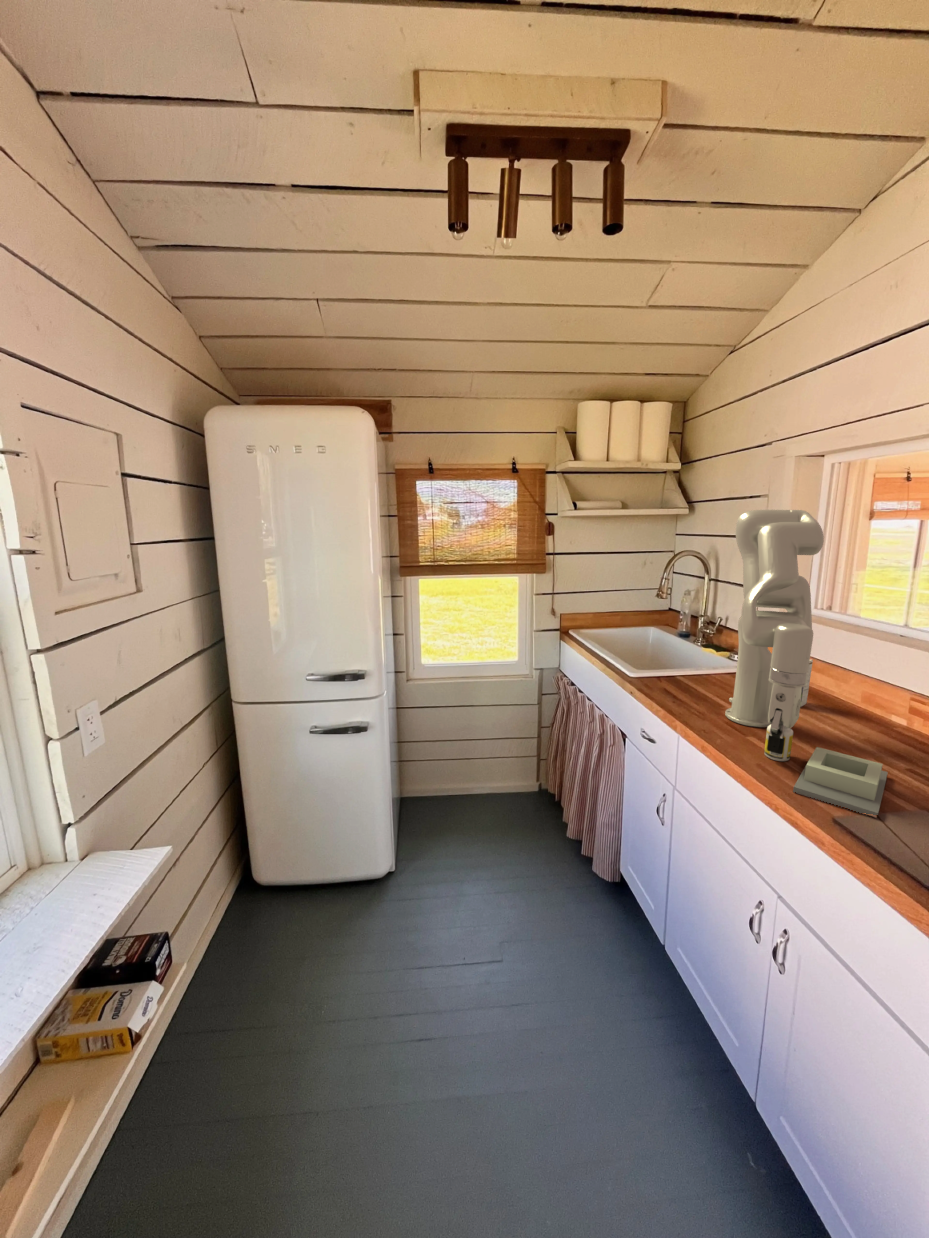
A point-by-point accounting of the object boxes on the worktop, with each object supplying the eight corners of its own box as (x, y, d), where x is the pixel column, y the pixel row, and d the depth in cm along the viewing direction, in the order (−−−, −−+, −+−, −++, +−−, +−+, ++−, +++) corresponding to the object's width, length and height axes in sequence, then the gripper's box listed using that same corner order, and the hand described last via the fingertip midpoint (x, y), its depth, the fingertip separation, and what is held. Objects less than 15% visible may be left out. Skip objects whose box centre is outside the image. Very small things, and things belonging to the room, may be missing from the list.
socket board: (877, 818, 98) (881, 796, 97) (792, 791, 107) (795, 771, 106) (886, 776, 114) (890, 757, 113) (812, 756, 123) (815, 738, 122)
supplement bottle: (780, 751, 126) (785, 714, 124) (794, 761, 120) (800, 723, 118) (758, 751, 126) (763, 714, 124) (772, 762, 120) (777, 723, 118)
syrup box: (778, 702, 159) (785, 658, 156) (787, 698, 162) (793, 655, 159) (799, 708, 154) (806, 662, 151) (807, 704, 158) (813, 659, 155)
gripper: (798, 689, 110) (787, 765, 114) (813, 671, 123) (803, 741, 126) (760, 681, 115) (750, 754, 119) (778, 665, 128) (769, 732, 131)
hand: (777, 747), depth 123 cm, fingers closed on supplement bottle, 5 cm apart
